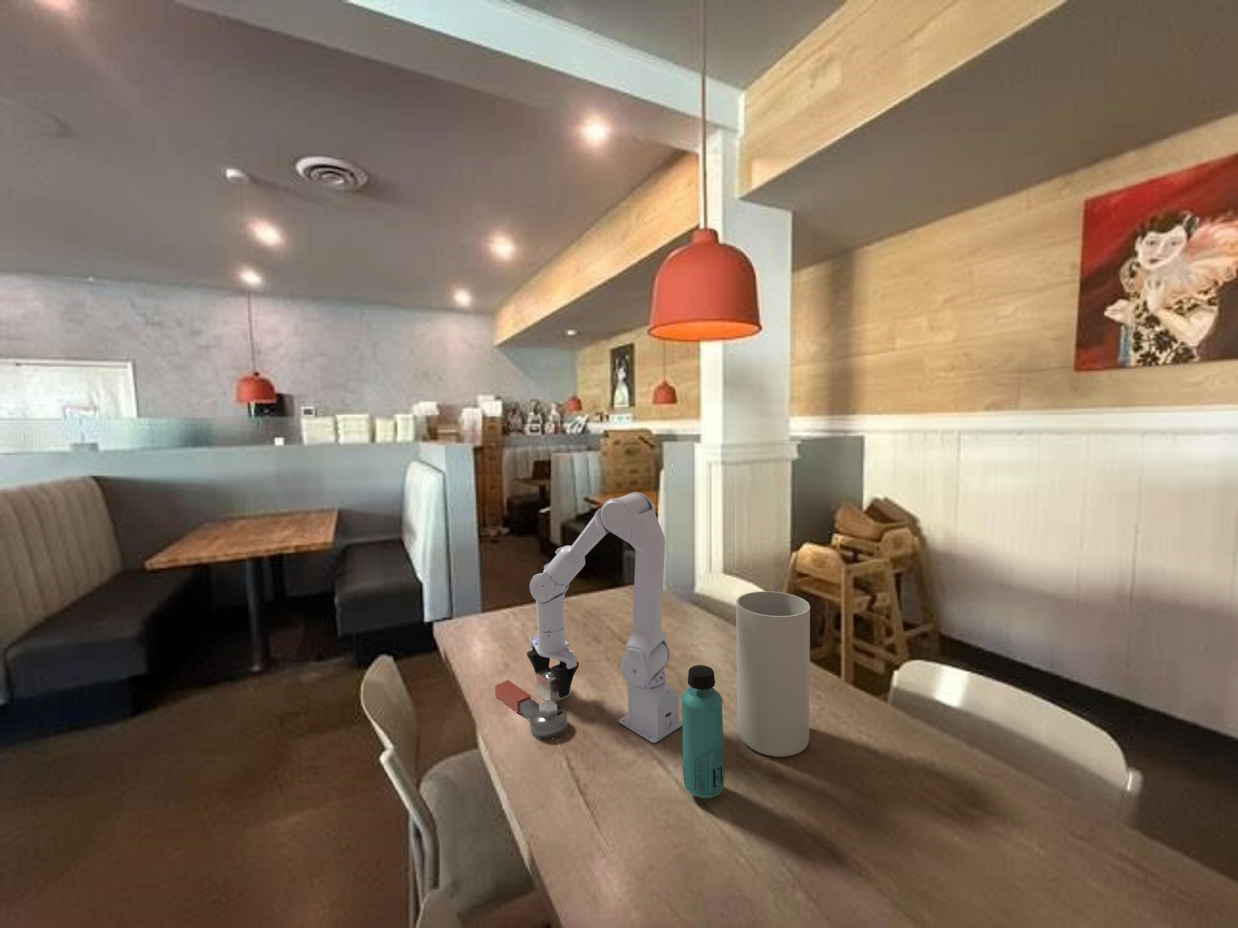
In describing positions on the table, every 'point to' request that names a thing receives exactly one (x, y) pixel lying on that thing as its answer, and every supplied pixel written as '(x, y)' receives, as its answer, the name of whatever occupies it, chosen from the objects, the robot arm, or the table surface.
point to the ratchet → (534, 711)
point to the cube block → (548, 685)
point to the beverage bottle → (702, 734)
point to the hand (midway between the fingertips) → (553, 688)
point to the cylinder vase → (773, 672)
